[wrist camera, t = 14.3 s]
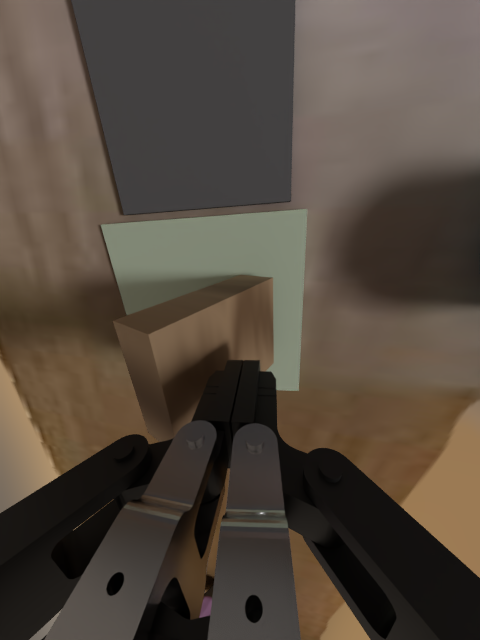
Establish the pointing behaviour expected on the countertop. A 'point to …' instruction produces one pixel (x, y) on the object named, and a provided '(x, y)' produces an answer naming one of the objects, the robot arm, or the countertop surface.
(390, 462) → the countertop surface
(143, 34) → the coaster
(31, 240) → the countertop surface
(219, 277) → the board
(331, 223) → the countertop surface
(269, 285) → the slab
